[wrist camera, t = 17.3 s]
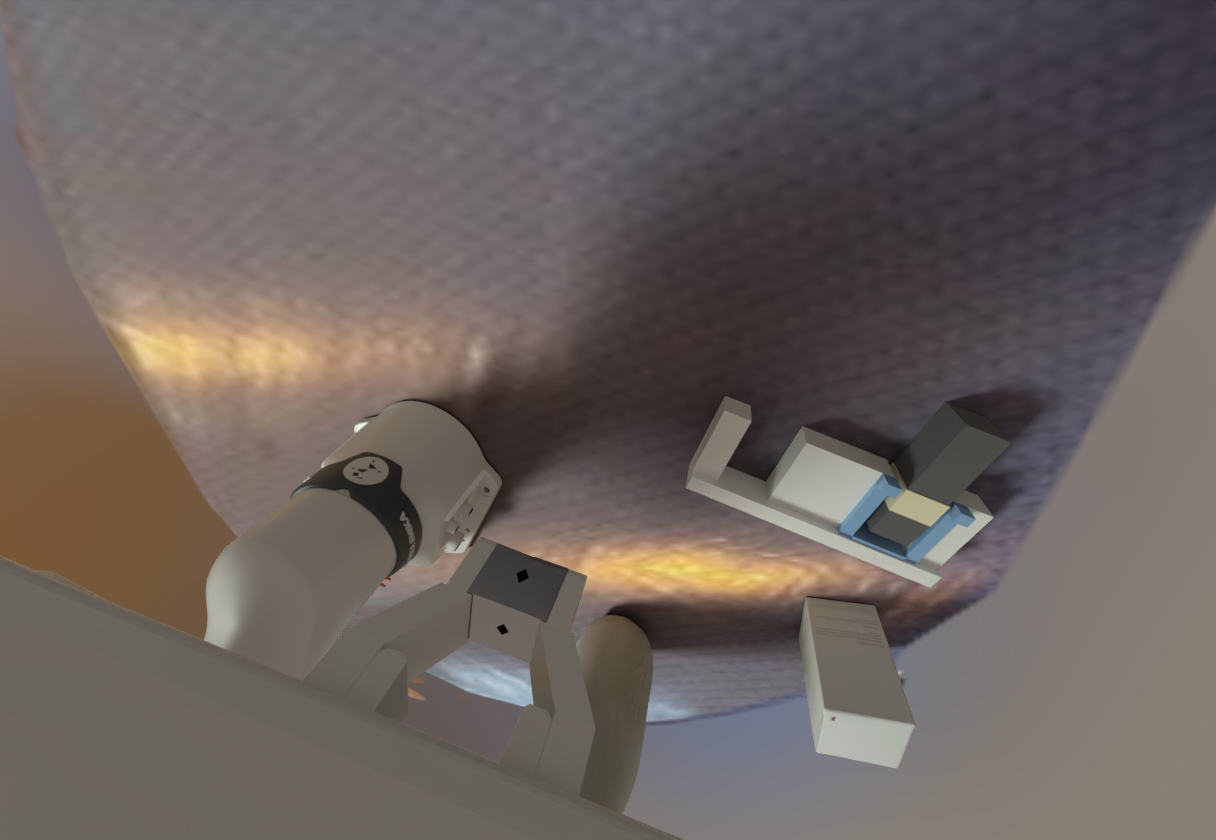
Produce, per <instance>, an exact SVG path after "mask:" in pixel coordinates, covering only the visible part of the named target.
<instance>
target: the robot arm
mask: <svg viewBox="0 0 1216 840" xmlns="http://www.w3.org/2000/svg"><path fill="white" fill-rule="evenodd" d="M354 431H355V434H354V435H353V436H352V437H351V438H350V439H348V440H347V441H346V442H345V443H344V444H343V445H341V446H340V447H339V448H338V449H337V450H336V451H335V452H334V453H332V454H331V455H330V456H329V457H328V458H327V459H326V460H325V461H324V462H323V463H322V466H321V467H322V469H321V470H320V471H318V472H317V473H316V474H315V473H314V474H312V475H311V476H310V477H308V478H307V479H306V480H305V481H304V483H302V484H301V485H300V486H299V487H298V488H297V489H295V490H294V492H293V493H292V495H291V497H290V499H289V500H288V501H287V502H285V503H284V504H283V505H281V506H280V507H279V508H277V509H276V510H275V511H273V512H272V513H271V514H269V515H268V516H267V517H265V518H264V519H263V520H261V521H260V522H259V523H257V524H256V525H254V526H253V527H252V528H250V529H249V530H248V531H246V532H245V533H244V534H242V535H241V536H240V537H238V538H237V539H236V540H234V541H233V542H232V543H230V544H229V545H228V546H227V547H226V548H225V549H224V550H223V551H222V553H221V554H220V556H219V557H218V558H217V560H216V562H215V564H214V565H213V567H212V569H211V571H210V574H209V576H208V580H207V583H206V602H207V612H208V624H207V631H206V635H205V638H204V640H202V639H199V638H196V637H194V636H192V635H190V634H187V633H185V632H182V631H180V630H177V629H175V628H173V627H170V626H168V625H165V624H163V623H161V622H158V621H156V620H153V619H151V618H149V617H146V616H144V615H141V614H139V613H137V612H134V611H132V610H129V609H127V608H124V607H122V606H120V605H117V604H115V603H112V602H110V601H108V600H105V599H103V598H101V597H99V596H98V595H96V594H94V593H93V592H91V591H89V590H87V589H85V588H83V587H81V586H79V585H77V584H75V583H74V582H71V581H70V580H68V579H66V578H64V577H62V576H60V575H58V574H56V573H54V572H50V571H35V570H33V569H31V568H28V567H25V566H23V565H21V564H18V563H16V562H14V561H11V560H9V559H6V558H4V557H2V556H0V840H683V839H681V838H678V837H676V836H673V835H671V834H669V833H666V832H663V831H661V830H659V829H657V828H654V827H652V826H649V825H647V824H645V823H642V822H640V821H637V820H635V819H633V818H630V817H628V816H625V815H623V814H621V813H618V812H616V811H613V810H611V809H608V808H606V807H604V806H601V805H599V804H596V803H594V802H592V801H589V800H587V799H584V798H582V797H580V796H579V793H580V789H581V785H582V781H583V777H584V773H585V769H586V765H587V761H588V757H589V753H590V749H591V745H592V741H593V737H594V733H595V729H596V728H595V724H594V719H593V715H592V711H591V707H590V703H589V698H588V694H587V690H586V686H585V682H584V677H583V673H582V669H581V665H580V661H579V656H578V652H577V648H576V644H575V640H574V635H573V633H572V632H570V630H571V627H572V624H573V621H574V618H575V615H576V612H577V609H578V605H579V602H580V599H581V596H582V592H583V589H584V586H585V583H586V580H587V576H586V575H583V574H581V573H578V572H575V571H572V570H569V569H568V568H565V567H562V566H560V565H557V564H554V563H551V562H548V561H545V560H542V559H539V558H537V557H532V556H529V555H527V554H524V553H521V552H519V551H516V550H514V549H511V548H509V547H506V546H504V545H501V544H499V543H496V542H493V541H491V540H488V539H485V538H483V537H481V538H480V539H479V540H477V541H476V543H475V544H474V546H473V547H472V548H471V550H470V551H469V553H468V554H467V556H466V557H465V559H464V560H463V561H462V563H461V564H460V566H459V567H458V569H457V570H456V571H455V573H454V574H453V576H452V577H451V579H450V580H449V581H448V583H447V584H443V583H440V584H438V585H436V586H434V587H431V588H429V589H427V590H425V591H423V592H421V593H419V594H417V595H415V596H413V597H411V598H409V599H407V600H405V601H403V602H401V603H399V604H397V605H395V606H393V607H390V608H388V609H386V610H384V611H382V612H380V613H378V614H376V615H374V616H372V617H370V618H368V619H366V620H364V621H362V622H360V623H358V624H356V625H354V626H352V627H349V628H347V630H346V631H345V632H344V633H343V631H344V630H345V629H346V627H347V626H348V625H349V623H350V622H351V621H352V619H353V618H354V617H355V615H356V614H357V613H358V611H359V610H360V609H361V608H362V606H363V605H364V604H365V603H366V601H367V600H368V599H369V598H370V596H371V595H372V594H373V593H374V591H375V590H376V589H377V588H378V586H379V585H380V586H383V587H385V585H384V584H383V583H382V582H383V580H386V581H390V580H391V578H389V576H391V575H393V574H394V573H395V572H397V571H398V570H399V569H402V568H403V567H405V566H406V565H407V564H409V565H415V566H428V565H431V564H433V563H434V562H435V561H436V560H437V559H438V558H439V557H440V555H441V554H442V553H443V552H448V553H463V552H465V551H466V549H467V548H468V547H469V546H470V544H471V542H472V540H473V538H474V536H475V535H476V533H477V531H478V529H479V527H480V525H481V523H482V522H483V520H484V518H485V516H486V514H487V512H488V510H489V509H490V507H491V505H492V503H493V501H494V499H495V497H496V495H497V494H498V492H499V490H500V488H501V486H502V480H501V478H500V476H499V475H498V474H497V473H496V471H495V470H494V469H493V468H492V467H491V466H490V465H489V464H488V463H487V462H486V460H485V458H484V456H483V454H482V452H481V450H480V448H479V446H478V444H477V442H476V441H475V439H474V438H473V436H472V435H471V434H470V432H469V431H468V430H467V429H466V428H465V427H464V426H463V425H462V424H461V423H460V422H459V421H458V420H457V419H455V418H454V417H453V416H451V415H450V414H448V413H447V412H445V411H443V410H441V409H439V408H437V407H435V406H432V405H430V404H427V403H423V402H417V401H403V402H398V403H395V404H393V405H391V406H389V407H387V408H386V409H385V410H384V411H383V412H382V413H381V414H379V415H378V416H376V417H370V418H365V419H362V420H361V421H359V422H358V423H357V424H356V425H355V427H354ZM342 633H343V634H342ZM341 634H342V635H341ZM340 635H341V636H340ZM339 637H340V638H339ZM338 638H339V639H338ZM467 639H468V640H471V641H474V642H477V643H479V644H482V645H485V646H488V647H491V648H493V649H496V650H499V651H501V652H504V653H506V654H508V655H511V656H513V657H516V658H518V659H520V660H523V661H525V662H527V663H530V665H529V667H530V676H531V685H532V694H533V703H534V705H532V704H529V705H527V706H525V707H523V708H522V711H521V713H520V716H519V718H518V721H517V723H516V726H515V728H514V730H513V733H512V735H511V737H510V740H509V742H508V745H507V747H506V750H505V752H504V755H503V757H502V759H501V762H500V763H498V762H495V761H493V760H490V759H488V758H486V757H483V756H481V755H479V754H476V753H474V752H471V751H469V750H466V749H464V748H462V747H459V746H457V745H454V744H452V743H450V742H447V741H445V740H442V739H440V738H438V737H435V736H433V735H430V734H428V733H425V732H423V731H421V730H418V729H416V728H414V727H411V726H409V725H406V724H404V721H405V720H406V718H407V716H408V685H407V684H408V683H409V682H411V681H412V680H413V679H415V678H416V677H418V676H419V675H420V674H422V673H423V672H425V671H426V670H428V669H429V668H430V667H432V666H433V665H435V664H436V663H438V662H439V661H440V660H442V659H443V658H445V657H446V656H448V655H449V654H450V653H452V652H453V651H455V650H456V649H457V648H459V647H460V646H462V645H463V644H465V643H466V642H467Z"/></svg>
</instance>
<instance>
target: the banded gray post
mask: <svg viewBox="0 0 1216 840" xmlns="http://www.w3.org/2000/svg"><path fill="white" fill-rule="evenodd" d="M1011 443H1012V442H1011V441H1010V440H1009V439H1008V438H1007V437H1006V436H1005V435H1004V434H1003V433H1002V432H1001V431H1000V430H999V429H998V428H997V427H996V426H995V425H994V424H993V423H992V422H991V421H990V420H989V419H988V418H987V417H984V416H981V415H979V414H976V413H974V412H971V411H969V410H966V409H964V408H961V407H958V406H956V405H953V404H951V403H948V402H945V403H944V404H943V405H942V407H941V408H940V409H939V410H938V411H937V412H936V414H935V415H934V416H933V417H932V418H931V420H930V421H929V422H928V423H927V424H926V425H925V427H924V428H923V429H922V430H921V431H920V433H919V434H918V435H917V436H916V437H915V438H914V440H913V441H912V442H911V443H910V444H909V445H908V447H907V448H906V449H905V450H904V451H903V453H902V454H901V455H900V456H899V457H898V458H897V460H896V461H895V462H894V463H892V464H891V465H890V467H891V469H892V471H893V473H894V475H895V477H896V479H897V481H898V482H899V484H900V486H901V488H902V491H901V492H900V493H899V495H898V496H897V497H896V498H895V499H894V498H892V497H889V496H887V497H886V498H885V499H884V500H883V501H882V502H881V504H880V505H879V506H878V507H877V508H876V509H875V510H874V512H873V513H872V514H871V515H870V516H869V517H868V518H867V520H866V522H867V524H868V527H869V530H870V531H871V532H873V533H875V534H878V535H880V536H883V537H885V538H888V539H890V540H893V541H895V542H897V543H900V544H902V545H905V546H907V547H908V546H909V545H910V544H911V543H912V542H913V541H914V540H915V539H916V538H917V537H918V536H919V535H920V534H921V533H922V532H923V531H924V530H925V529H926V528H927V527H928V526H930V527H931V526H932V525H933V524H934V523H935V522H936V521H937V520H938V519H939V518H940V517H941V516H942V515H943V514H944V513H945V512H946V511H947V510H948V509H949V508H950V506H949V505H950V504H951V503H952V502H953V501H954V500H955V499H956V498H957V497H958V496H959V495H960V494H961V493H962V492H963V491H964V490H965V489H966V488H967V487H968V486H969V485H970V484H971V483H972V482H973V481H974V480H975V479H976V478H977V477H978V476H979V475H980V474H981V473H982V472H983V471H984V470H985V469H986V468H987V467H988V466H989V465H990V464H991V463H992V462H993V461H994V460H995V459H996V458H997V457H998V456H999V455H1000V454H1001V453H1002V452H1003V451H1004V450H1005V449H1006V448H1007V447H1008V446H1009V445H1010V444H1011Z"/></svg>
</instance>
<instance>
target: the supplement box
mask: <svg viewBox="0 0 1216 840" xmlns="http://www.w3.org/2000/svg"><path fill="white" fill-rule="evenodd" d="M799 643H800V650H801V656H802V663H803V670H804V676H805V683H806V690H807V697H808V704H809V711H810V717H811V724H812V731H813V737H814V743H815V750H816V752H818V753H822V754H828V755H834V756H838V757H843V758H849V759H854V760H859V761H864V762H869V763H874V764H879V765H883V766H888V767H893V768H898V766H899V763H900V761H901V759H902V756H903V754H904V751H905V749H906V746H907V744H908V742H909V740H910V738H911V736H912V734H913V731H914V729H915V727H916V724H915V721H914V719H913V716H912V713H911V711H910V708H909V705H908V702H907V699H906V696H905V693H904V690H903V687H902V684H901V681H900V678H899V675H898V672H897V669H896V666H895V663H894V660H893V657H892V654H891V651H890V648H889V645H888V642H887V639H886V636H885V633H884V630H883V627H882V625H881V622H880V619H879V616H878V613H877V610H876V607H875V606H874V605H867V604H858V603H850V602H841V601H833V600H825V599H817V598H809V597H806V598H805V604H804V610H803V616H802V621H801V627H800V633H799Z"/></svg>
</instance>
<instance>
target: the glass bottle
mask: <svg viewBox="0 0 1216 840" xmlns="http://www.w3.org/2000/svg"><path fill="white" fill-rule="evenodd" d="M576 648H577V652H578V656H579V661H580V665H581V669H582V673H583V677H584V682H585V686H586V690H587V694H588V698H589V703H590V707H591V711H592V715H593V719H594V724H595V728H596V729H595V733H594V737H593V741H592V745H591V749H590V753H589V757H588V761H587V765H586V769H585V773H584V777H583V781H582V785H581V789H580V793H579V796H580V797H582V798H584V799H587V800H589V801H592V802H594V803H596V804H599V805H601V806H604V807H606V808H608V809H611V810H613V811H616V812H618V813H621V814H623V812H624V810H625V807H626V805H627V802H628V800H629V798H630V795H631V792H632V789H633V786H634V783H635V780H636V776H637V772H638V767H639V762H640V757H641V751H642V744H643V738H644V730H645V723H646V715H647V709H648V702H649V696H650V689H651V683H652V674H653V656H652V650H651V646H650V643H649V641H648V638H647V637H646V635H645V633H644V632H643V631H642V629H641V628H640V627H639V626H637V625H636V624H635V623H634V622H633V621H631V620H630V619H628V618H626V617H623V616H617V615H607V616H604V617H601V618H599V619H597V620H595V621H594V622H593V623H592V624H591V625H590V626H589V627H588V628H587V629H586V630H585V632H584V633H583V634H582V636H581V637H580V639H579V640H578V643H577V645H576Z"/></svg>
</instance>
